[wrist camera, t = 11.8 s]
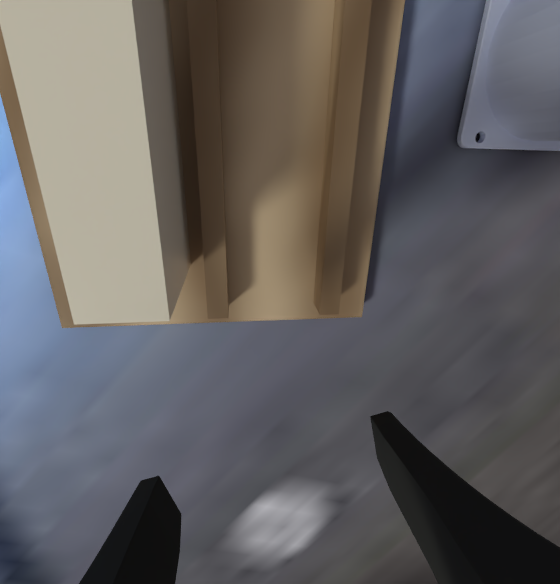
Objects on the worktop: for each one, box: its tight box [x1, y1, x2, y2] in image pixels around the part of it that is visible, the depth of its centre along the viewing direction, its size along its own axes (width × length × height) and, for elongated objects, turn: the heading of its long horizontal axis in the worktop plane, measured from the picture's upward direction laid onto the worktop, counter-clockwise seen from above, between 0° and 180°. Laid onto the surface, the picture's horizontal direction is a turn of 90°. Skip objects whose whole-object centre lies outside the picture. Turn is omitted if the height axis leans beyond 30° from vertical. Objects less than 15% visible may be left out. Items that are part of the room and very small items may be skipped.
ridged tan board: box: [0, 0, 405, 328], centre depth 14 cm, size 16×18×2 cm
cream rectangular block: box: [0, 0, 191, 325], centre depth 11 cm, size 3×12×6 cm, turn 179°
